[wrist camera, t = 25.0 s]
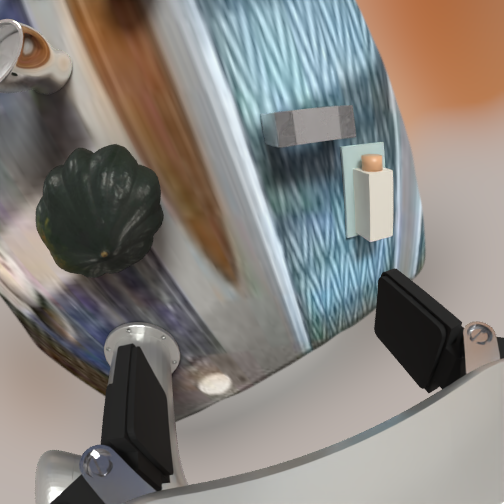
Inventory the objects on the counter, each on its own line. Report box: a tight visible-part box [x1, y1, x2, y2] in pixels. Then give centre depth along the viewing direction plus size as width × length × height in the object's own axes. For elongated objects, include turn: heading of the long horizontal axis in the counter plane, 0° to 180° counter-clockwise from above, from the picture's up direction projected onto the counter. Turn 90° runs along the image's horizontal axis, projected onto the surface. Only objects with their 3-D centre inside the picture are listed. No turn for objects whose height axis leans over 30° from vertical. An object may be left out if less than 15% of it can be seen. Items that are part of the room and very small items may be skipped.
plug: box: [353, 154, 393, 242], centre depth 42 cm, size 12×4×4 cm, turn 10°
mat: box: [340, 142, 385, 238], centre depth 43 cm, size 14×8×1 cm, turn 10°
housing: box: [260, 105, 356, 148], centre depth 35 cm, size 4×10×6 cm, turn 100°
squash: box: [36, 144, 163, 278], centre depth 30 cm, size 14×15×15 cm
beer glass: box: [0, 19, 72, 94], centre depth 20 cm, size 7×7×15 cm
